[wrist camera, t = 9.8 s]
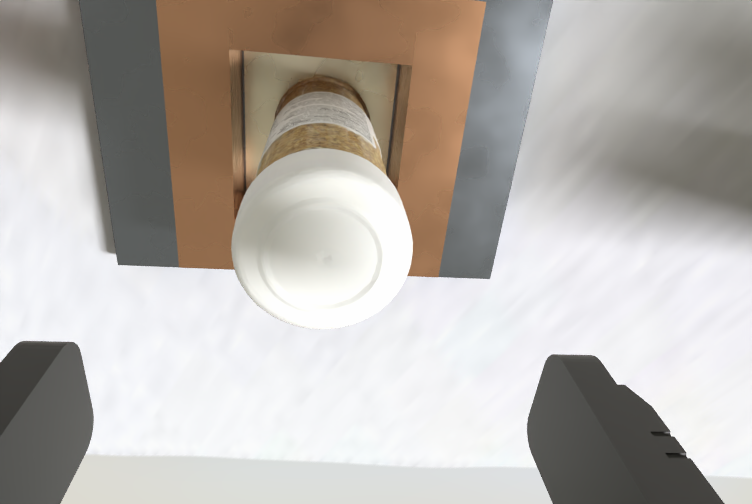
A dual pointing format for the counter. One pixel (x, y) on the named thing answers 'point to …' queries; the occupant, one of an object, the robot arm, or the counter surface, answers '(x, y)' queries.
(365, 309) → the spice jar
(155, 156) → the collar deck
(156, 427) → the counter surface
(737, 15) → the counter surface
